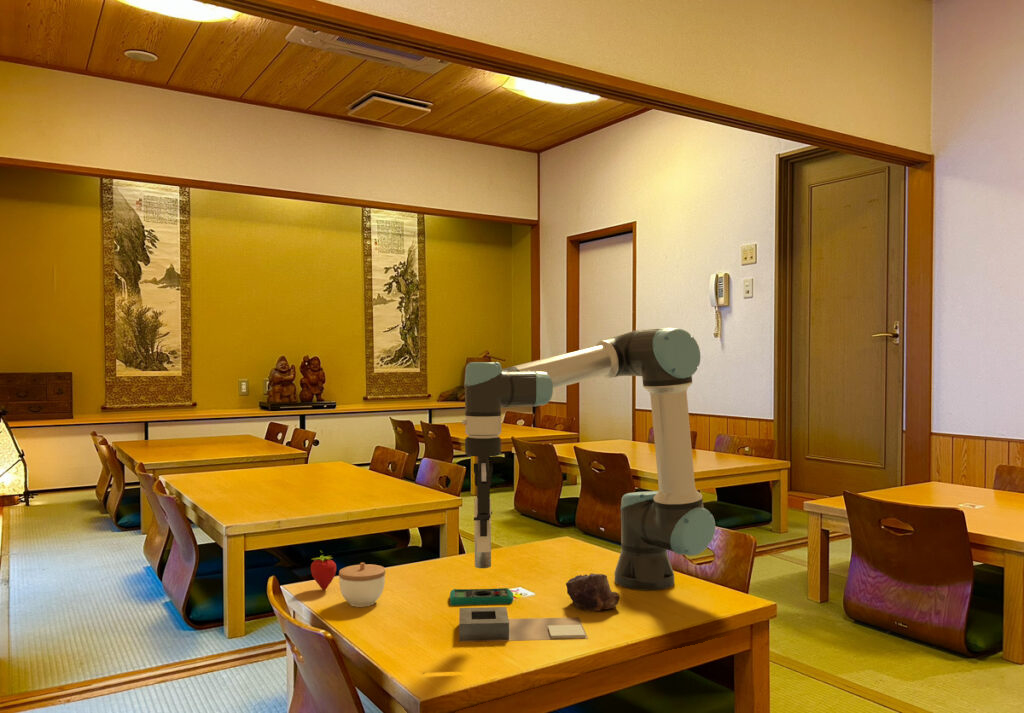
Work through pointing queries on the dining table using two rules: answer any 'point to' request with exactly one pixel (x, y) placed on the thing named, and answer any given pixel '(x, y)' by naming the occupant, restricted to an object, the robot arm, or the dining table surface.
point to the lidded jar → (362, 584)
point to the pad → (566, 631)
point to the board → (536, 628)
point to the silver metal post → (480, 557)
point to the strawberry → (323, 571)
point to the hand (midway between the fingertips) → (483, 548)
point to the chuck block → (483, 624)
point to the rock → (592, 592)
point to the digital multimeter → (481, 596)
